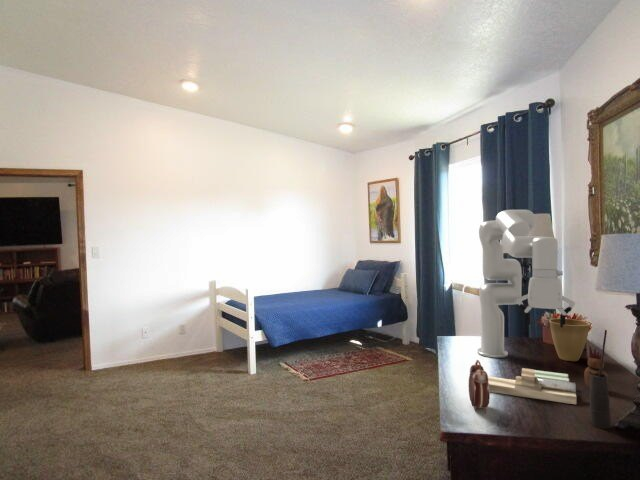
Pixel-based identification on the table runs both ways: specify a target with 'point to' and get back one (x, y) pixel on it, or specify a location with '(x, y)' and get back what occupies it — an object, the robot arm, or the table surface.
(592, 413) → the butter churn
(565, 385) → the steel axle
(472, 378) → the alarm clock
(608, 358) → the table surface
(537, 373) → the block
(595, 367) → the wooden figurine
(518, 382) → the maple beam
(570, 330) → the plant pot
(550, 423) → the table surface
